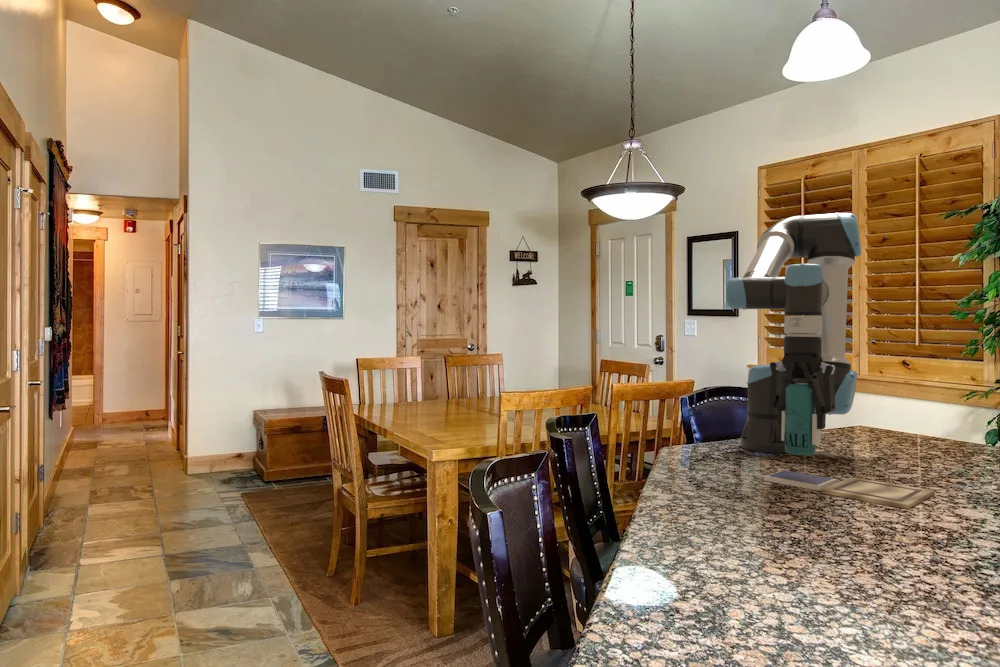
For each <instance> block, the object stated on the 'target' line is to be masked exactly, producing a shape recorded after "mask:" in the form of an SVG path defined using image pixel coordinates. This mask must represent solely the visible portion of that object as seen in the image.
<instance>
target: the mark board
mask: <svg viewBox="0 0 1000 667" xmlns="http://www.w3.org/2000/svg"><path fill="white" fill-rule="evenodd" d="M820 492H821V494H824V495H830V496H831V495H832V496H835V497H840V498H841V497H842V498H846V499H852V500H855V501H856V500H857V501H861V502H862V501H863V502H867V503H873V504H878V505H885V506H889V507H894V508H900V509H905V510H909V509H911V508H912V507H915V506H916V505H918V504H920V503H922V502H924V501H925V500H927V499H928V498H931V497H933V496H934V495H935V490H933V489H928V488H927V489H926V488H919V487H913V486H908V485H902V484H896V483H889V482H883V481H878V480H872V479H865V478H860V477H859V478H858V477H854V476H851V477H848V478H846V479H844V480H840V481H837V483H836V484H833V485H831V486H828V487H825V488H823V489H821V490H820Z"/></svg>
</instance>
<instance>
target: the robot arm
mask: <svg viewBox="0 0 1000 667" xmlns="http://www.w3.org/2000/svg"><path fill="white" fill-rule="evenodd" d="M858 222H859V221H858V218H857V216H856V215H855V214H854V213H852V212H835V213H834V212H833V213H831V212H830V213H820V214H806V215H805V214H804V215H794V216H793V215H792V216H789V217H786V218H783V219H781V220H780V221H777V222H776V223H774V224H773V225H771V226H770V227H768V228H767V229H766V230H765V231H764V232H763V233H762V234H761V235H760V237H759V239H758V241H757V243H756V244H757V245H756V253H755V254H754V257H753V258H752V260H751V262H750V264H749V266H748V267H747V268H746V271H745V273H744V275H743V276H742V277H741V276H737V277H731V278H729V279H728V281H727V283H726V287H725V299H726V303H727V306H728V307H729V308H731V309H734V310H735V309H738V310H739V309H740V310H784V321H783V322H784V324H783V326H784V329H783V332H784V334H785V335H786V336H785V337H784V338H783V357H782V359H781V360H779V361H772V362H769V363H768V364H767V363H766V364H759V365H754V366H752V367H750V369H749V370H748V375H747V382H746V384H747V405H746V406H747V410H746V411H747V413H746V414H747V416H746V417H747V418H746V421H745V423H744V424H745V425H744V427H743V430H742V433H741V436H740V437H739V438H740V440H739V441H740V442H739V445H740V448H742V449H744V450H749V451H754V452H761V453H771V454H772V453H773V454H776V453H777V454H787V453H786V452H785V448H784V447H785V446H784V445H785V444H784V433H785V432H784V431H785V428H784V427H785V413H784V412H785V411H784V410H785V408H784V405H785V397H786V391H785V388H786V387H787V386H788V385H789V384H792V383H807V384H808V385H809V387H810V388H811V390H812V399H813V403H814V406H815V410H816V412H815V414H812V445H815V446H816V445H817V446H818V445H821V444H822V442H821V441H822V430H824V429H826V420H827V418H826V417H827V415H830V416H831V415H840V416H841V415H843V416H844V415H846V414H848V413H849V412H850V411H851V409H852V406H853V403H854V398H855V394H856V388H857V379H858V372H857V371H856V370H854V369H852V363H851V362H850V361H849V360H848V359H847V358H846V340H847V339H846V338H847V336H846V335H847V334H846V331H847V313H848V312H847V311H848V310H847V309H848V305H847V304H848V282H849V280H848V278H849V275H848V274H849V269H850V268H852V266H853V265H855V263H856V257H859V256H861V255H862V246H861V245H862V244H861V236H860V229H859V223H858ZM797 258H801V259H802V258H806V259H807V263H795V264H790V265H787V266H786V267H785V273H784V274H785V276H780V273H781V270H782V269H783V266H785V265H784V264H785V262H787V261H788V260H790V259H797ZM796 368H801V369H802V370H803V372H804V375H805V378H791V375H792V371H793V370H794V369H796Z"/></svg>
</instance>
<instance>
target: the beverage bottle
mask: <svg viewBox="0 0 1000 667" xmlns="http://www.w3.org/2000/svg"><path fill="white" fill-rule="evenodd" d="M791 378H805V375H804V372H803V370H802V369H801V368H796V369H794V370H793V371H792V375H791ZM785 391H786V397H785V405H784V408H785V410H784V411H785V412H784V413H785V427H784V428H785V431H784V432H785V433H784V444H785V445H784V446H785V447H784V448H785V452H786V453H785V454H789V455H796V456H813V455H815V454H816V445H812V414H815V412H816V410H815V406H814V403H813V399H812V390H811V388H810V387H809V385H808V384H807V383H792V384H789V385H788V386H787V387H786V388H785Z"/></svg>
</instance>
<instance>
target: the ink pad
mask: <svg viewBox="0 0 1000 667" xmlns="http://www.w3.org/2000/svg"><path fill="white" fill-rule="evenodd" d="M763 481H764V482H769V483H775V484H781V485H787V486H790V487H791V486H793V487H796V488H801V487H802V489H808V490H811V491H820V492H821V489H823V488H825V487H828V486H831V485H833V484H836V483H838V479H837V478H832V477H826V476H821V475H815V474H809V473H801V472H797V471H790V470H786V469H785V470H783V469H782V470H779V471H776V472H773V473H770V474H766V475H764V476H763Z"/></svg>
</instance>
